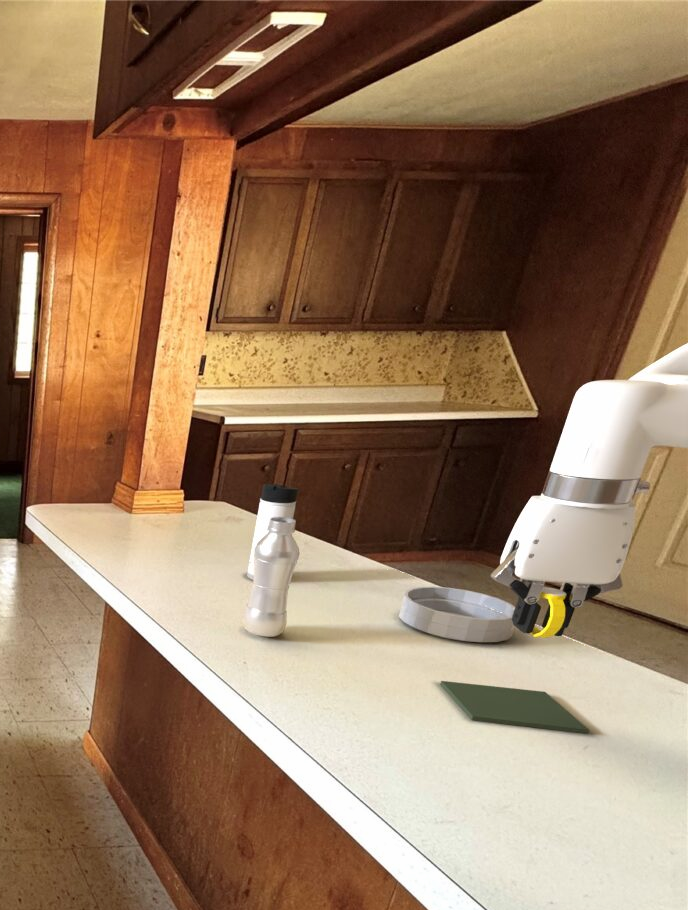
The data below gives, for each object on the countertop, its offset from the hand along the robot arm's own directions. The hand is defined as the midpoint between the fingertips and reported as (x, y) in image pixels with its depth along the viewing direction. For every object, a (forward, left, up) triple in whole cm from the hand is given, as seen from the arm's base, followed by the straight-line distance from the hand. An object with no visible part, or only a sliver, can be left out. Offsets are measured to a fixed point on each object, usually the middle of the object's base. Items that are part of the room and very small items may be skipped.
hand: (536, 629), depth 85 cm
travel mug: (+22, -48, -12) cm, 54 cm away
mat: (0, 0, -12) cm, 12 cm away
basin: (-4, -29, -12) cm, 31 cm away
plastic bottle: (+27, -18, -12) cm, 35 cm away
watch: (0, 0, -1) cm, 1 cm away
